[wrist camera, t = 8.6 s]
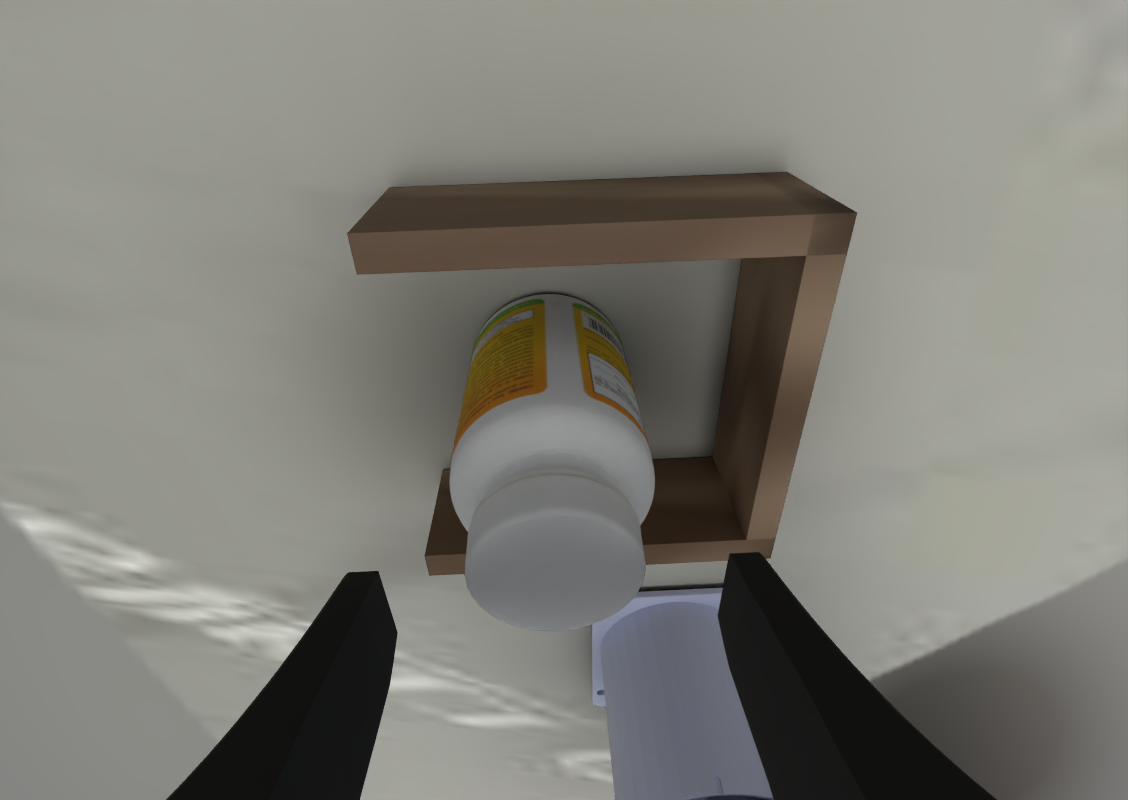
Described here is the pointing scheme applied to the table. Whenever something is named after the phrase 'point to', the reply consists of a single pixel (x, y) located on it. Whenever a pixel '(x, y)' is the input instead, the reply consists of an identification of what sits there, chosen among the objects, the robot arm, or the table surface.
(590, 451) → the supplement bottle
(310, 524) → the table surface
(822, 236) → the walnut stall
